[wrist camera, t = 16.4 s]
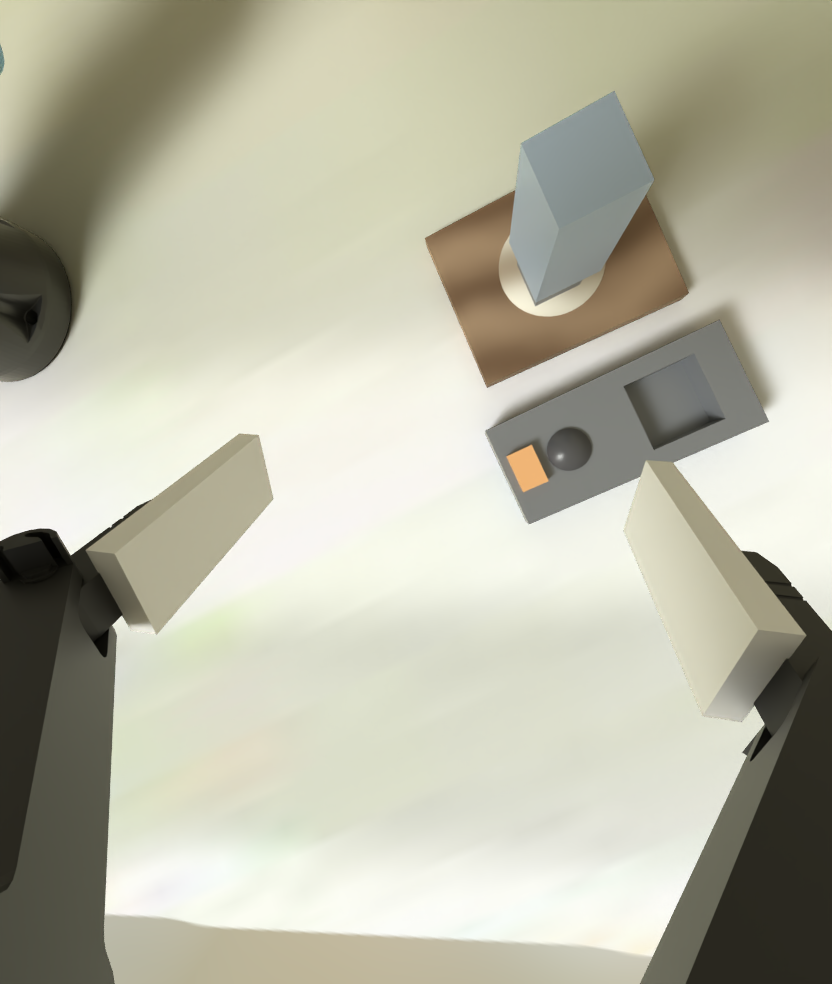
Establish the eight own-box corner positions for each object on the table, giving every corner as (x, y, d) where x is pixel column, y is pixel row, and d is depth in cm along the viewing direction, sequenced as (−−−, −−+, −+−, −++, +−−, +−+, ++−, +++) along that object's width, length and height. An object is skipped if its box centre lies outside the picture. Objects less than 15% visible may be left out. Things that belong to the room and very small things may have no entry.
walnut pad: (426, 246, 34) (424, 237, 33) (614, 147, 32) (620, 133, 31) (487, 387, 34) (487, 384, 33) (681, 299, 32) (689, 292, 30)
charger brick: (506, 261, 32) (520, 143, 21) (565, 231, 31) (614, 90, 20) (531, 316, 32) (559, 229, 21) (590, 288, 31) (654, 179, 20)
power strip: (524, 520, 35) (530, 525, 31) (485, 434, 35) (485, 429, 31) (742, 426, 32) (777, 419, 28) (697, 334, 32) (726, 315, 28)
